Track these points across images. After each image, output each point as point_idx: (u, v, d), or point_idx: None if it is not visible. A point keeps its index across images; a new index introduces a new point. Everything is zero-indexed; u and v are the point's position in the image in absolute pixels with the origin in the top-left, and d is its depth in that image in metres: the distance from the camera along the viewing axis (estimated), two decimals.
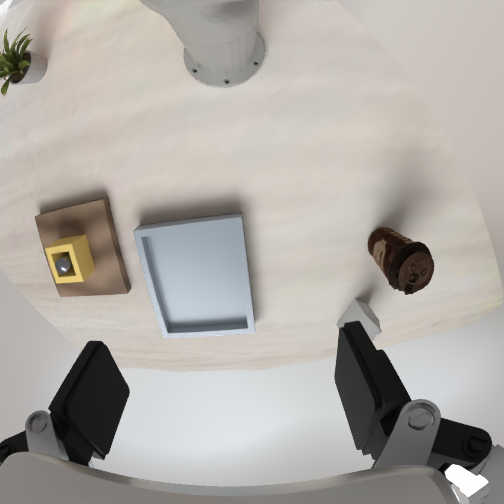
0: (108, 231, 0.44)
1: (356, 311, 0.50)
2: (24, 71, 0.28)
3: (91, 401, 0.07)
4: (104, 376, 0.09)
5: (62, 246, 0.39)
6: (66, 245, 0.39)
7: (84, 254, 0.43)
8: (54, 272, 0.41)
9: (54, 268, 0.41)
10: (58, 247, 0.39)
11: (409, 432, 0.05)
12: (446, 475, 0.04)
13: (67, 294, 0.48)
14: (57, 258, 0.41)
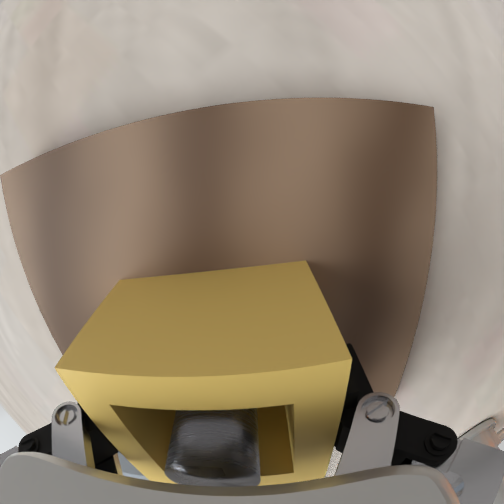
0: None
1: None
2: None
3: None
4: None
5: (325, 456, 0.07)
6: (323, 465, 0.07)
7: None
8: (133, 389, 0.05)
9: (168, 400, 0.05)
10: (326, 443, 0.06)
11: (364, 423, 0.05)
12: None
13: (16, 229, 0.09)
14: None
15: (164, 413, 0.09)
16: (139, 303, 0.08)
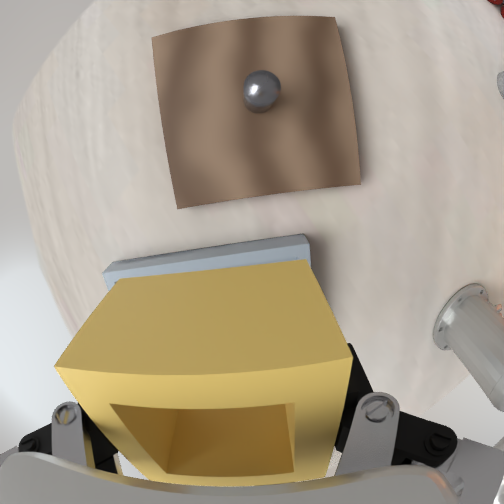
0: (306, 187, 0.25)
1: None
2: None
3: None
4: None
5: (325, 455, 0.07)
6: (324, 464, 0.07)
7: None
8: (132, 388, 0.05)
9: (168, 399, 0.05)
10: (327, 442, 0.06)
11: (364, 423, 0.05)
12: None
13: (157, 58, 0.20)
14: None
15: (164, 412, 0.09)
16: (139, 301, 0.08)
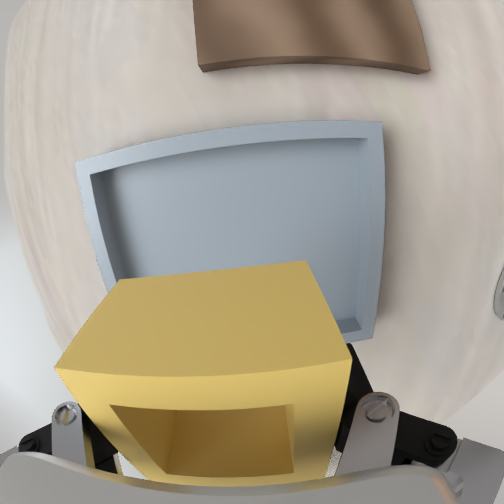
0: (370, 56, 0.15)
1: None
2: None
3: None
4: None
5: (325, 456, 0.07)
6: (323, 465, 0.07)
7: None
8: (132, 389, 0.05)
9: (168, 400, 0.05)
10: (326, 443, 0.06)
11: (364, 423, 0.05)
12: None
13: None
14: None
15: (164, 413, 0.09)
16: (139, 303, 0.08)
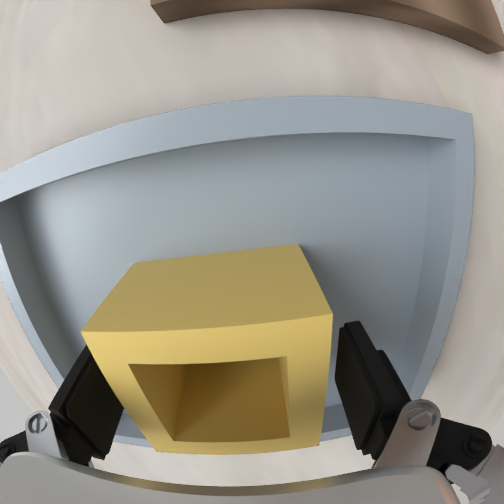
0: (440, 12, 0.06)
1: None
2: None
3: (91, 401, 0.07)
4: None
5: (317, 418, 0.08)
6: (317, 429, 0.09)
7: None
8: (151, 345, 0.07)
9: (181, 354, 0.07)
10: (318, 402, 0.08)
11: (409, 432, 0.05)
12: (446, 475, 0.04)
13: None
14: None
15: (173, 383, 0.10)
16: (154, 279, 0.10)
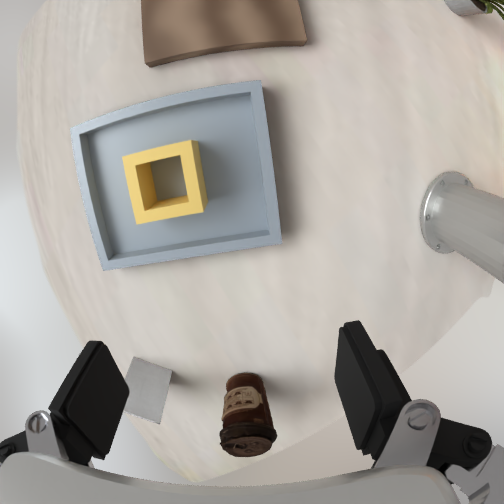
0: (256, 40, 0.23)
1: (161, 380, 0.38)
2: None
3: (91, 401, 0.07)
4: (104, 376, 0.09)
5: (197, 188, 0.25)
6: (199, 198, 0.26)
7: None
8: (143, 156, 0.24)
9: (151, 157, 0.24)
10: (194, 177, 0.25)
11: (409, 432, 0.05)
12: (446, 475, 0.04)
13: None
14: None
15: (148, 194, 0.27)
16: None
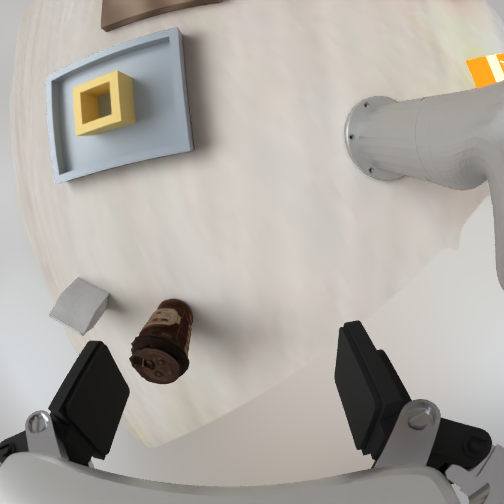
0: (180, 1, 0.25)
1: (96, 298, 0.40)
2: None
3: (91, 401, 0.07)
4: (104, 376, 0.09)
5: (118, 103, 0.27)
6: (119, 110, 0.27)
7: (110, 127, 0.30)
8: (86, 85, 0.25)
9: (91, 85, 0.26)
10: (117, 96, 0.27)
11: (409, 432, 0.05)
12: (446, 475, 0.04)
13: None
14: (104, 86, 0.27)
15: (90, 116, 0.29)
16: None
